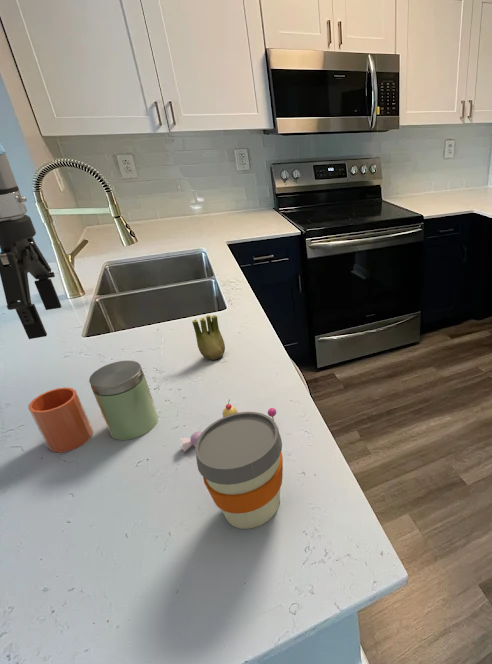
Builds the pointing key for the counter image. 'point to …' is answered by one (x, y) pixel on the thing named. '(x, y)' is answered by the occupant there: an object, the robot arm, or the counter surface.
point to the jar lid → (116, 377)
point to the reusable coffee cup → (242, 467)
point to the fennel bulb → (209, 338)
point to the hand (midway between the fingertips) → (46, 321)
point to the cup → (61, 419)
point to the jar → (129, 411)
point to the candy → (227, 411)
